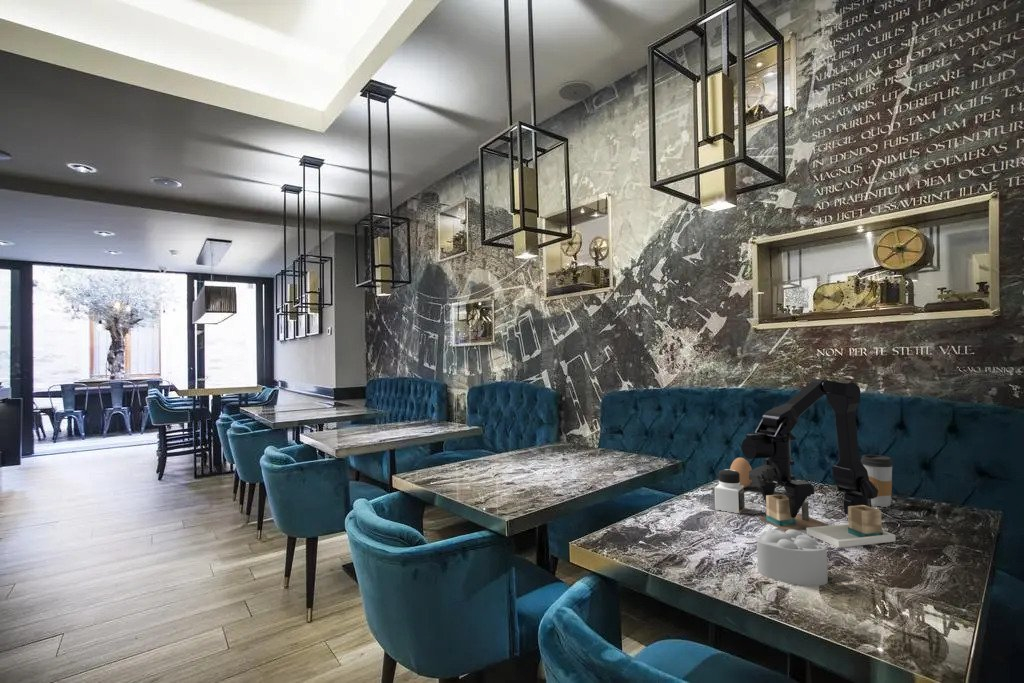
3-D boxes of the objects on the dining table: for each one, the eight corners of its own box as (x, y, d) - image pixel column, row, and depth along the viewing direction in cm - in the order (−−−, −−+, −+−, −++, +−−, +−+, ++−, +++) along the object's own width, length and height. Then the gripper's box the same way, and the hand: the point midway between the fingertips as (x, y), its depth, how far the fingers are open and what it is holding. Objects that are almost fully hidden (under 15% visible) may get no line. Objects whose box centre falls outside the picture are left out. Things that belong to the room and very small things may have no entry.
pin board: (801, 517, 145) (800, 496, 145) (829, 528, 135) (828, 506, 136) (759, 521, 142) (758, 500, 143) (785, 533, 133) (784, 510, 133)
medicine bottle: (739, 514, 149) (738, 474, 149) (714, 510, 153) (713, 471, 154) (744, 508, 155) (743, 469, 155) (721, 504, 159) (719, 467, 159)
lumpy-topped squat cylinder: (765, 559, 116) (764, 522, 117) (831, 573, 108) (829, 534, 108) (754, 574, 108) (753, 535, 108) (824, 591, 100) (822, 548, 100)
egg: (736, 484, 183) (735, 454, 184) (757, 487, 178) (756, 457, 178) (726, 487, 178) (725, 457, 179) (747, 491, 173) (746, 460, 173)
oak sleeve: (782, 518, 141) (781, 494, 141) (796, 524, 136) (795, 499, 136) (766, 520, 140) (765, 495, 140) (779, 526, 135) (778, 500, 135)
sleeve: (864, 531, 131) (863, 504, 132) (882, 538, 126) (881, 510, 126) (848, 532, 130) (847, 506, 131) (866, 539, 125) (864, 512, 125)
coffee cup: (856, 503, 158) (854, 456, 158) (871, 499, 161) (869, 453, 162) (884, 510, 150) (882, 460, 151) (900, 506, 154) (898, 458, 154)
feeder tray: (860, 530, 134) (859, 522, 134) (895, 543, 124) (895, 535, 124) (806, 535, 130) (806, 527, 131) (838, 550, 121) (838, 541, 121)
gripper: (732, 452, 146) (734, 505, 146) (778, 465, 128) (780, 525, 127) (765, 449, 148) (766, 502, 148) (814, 462, 130) (817, 522, 130)
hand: (780, 512), depth 138 cm, fingers open, 9 cm apart
